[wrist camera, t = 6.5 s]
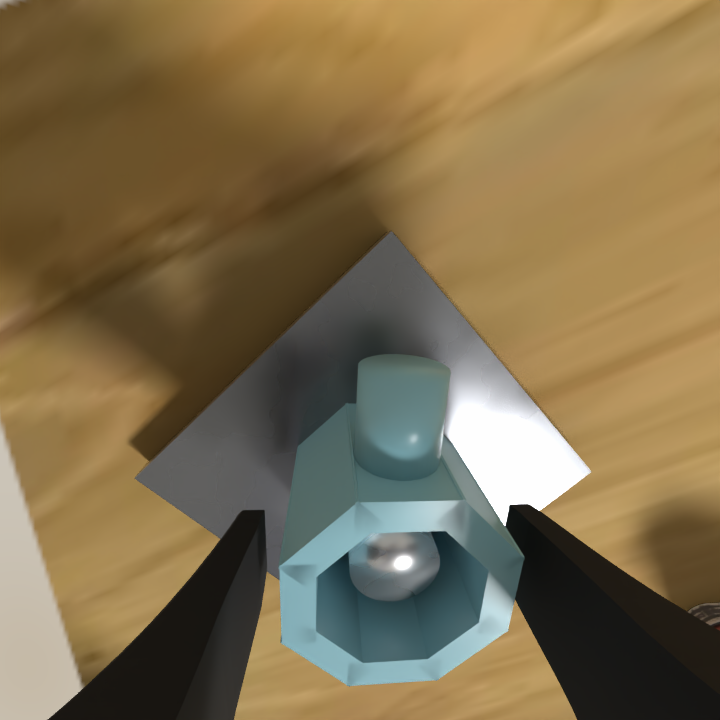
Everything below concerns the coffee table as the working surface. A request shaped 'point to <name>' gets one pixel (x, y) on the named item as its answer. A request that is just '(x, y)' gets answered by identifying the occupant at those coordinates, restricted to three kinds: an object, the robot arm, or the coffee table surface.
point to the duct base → (339, 386)
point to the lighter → (708, 613)
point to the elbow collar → (388, 515)
